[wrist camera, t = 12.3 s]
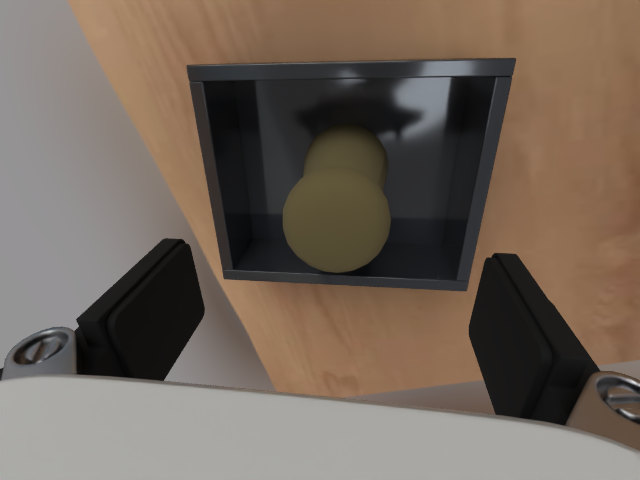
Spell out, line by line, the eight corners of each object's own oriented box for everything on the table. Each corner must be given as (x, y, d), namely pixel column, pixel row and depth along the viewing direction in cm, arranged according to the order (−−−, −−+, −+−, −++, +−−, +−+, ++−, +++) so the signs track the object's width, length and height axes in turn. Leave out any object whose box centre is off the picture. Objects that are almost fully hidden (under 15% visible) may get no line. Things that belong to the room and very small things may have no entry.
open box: (225, 63, 24) (185, 64, 18) (480, 57, 22) (516, 57, 17) (248, 240, 30) (223, 279, 25) (447, 247, 28) (467, 291, 23)
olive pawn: (309, 208, 27) (277, 293, 17) (299, 127, 24) (254, 174, 14) (388, 204, 26) (402, 291, 16) (388, 120, 23) (404, 164, 14)
